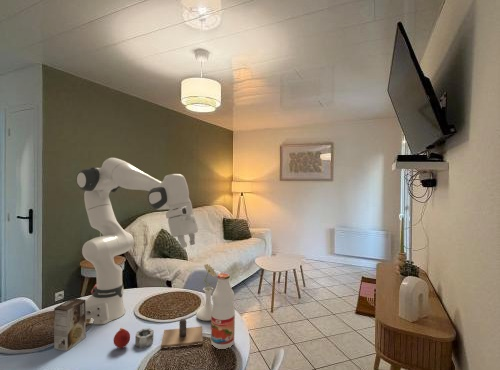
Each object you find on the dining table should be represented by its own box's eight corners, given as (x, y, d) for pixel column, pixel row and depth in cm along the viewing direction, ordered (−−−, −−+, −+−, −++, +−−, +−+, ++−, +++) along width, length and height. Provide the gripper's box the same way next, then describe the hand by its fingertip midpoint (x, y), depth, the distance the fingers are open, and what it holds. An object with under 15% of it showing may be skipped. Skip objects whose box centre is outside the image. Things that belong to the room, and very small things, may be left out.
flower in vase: (222, 320, 125) (223, 267, 125) (198, 325, 121) (199, 270, 121) (215, 308, 137) (216, 260, 137) (193, 312, 133) (194, 262, 133)
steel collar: (134, 348, 104) (134, 338, 104) (137, 339, 110) (137, 329, 110) (151, 346, 105) (151, 336, 105) (154, 337, 111) (154, 327, 111)
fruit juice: (238, 340, 110) (239, 272, 110) (227, 353, 101) (228, 280, 101) (218, 334, 114) (219, 269, 114) (206, 346, 105) (207, 276, 105)
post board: (160, 350, 103) (161, 327, 103) (164, 334, 114) (164, 314, 114) (202, 345, 107) (202, 324, 106) (202, 330, 117) (202, 310, 117)
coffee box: (72, 335, 112) (72, 297, 111) (86, 337, 110) (86, 299, 110) (53, 349, 103) (53, 307, 102) (67, 351, 101) (67, 309, 101)
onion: (125, 341, 108) (126, 322, 108) (132, 347, 104) (133, 327, 104) (110, 348, 103) (111, 328, 103) (117, 354, 100) (117, 333, 100)
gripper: (184, 214, 118) (190, 244, 116) (163, 213, 98) (170, 251, 96) (197, 210, 118) (204, 241, 116) (179, 209, 97) (187, 247, 95)
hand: (188, 246), depth 106 cm, fingers open, 8 cm apart
